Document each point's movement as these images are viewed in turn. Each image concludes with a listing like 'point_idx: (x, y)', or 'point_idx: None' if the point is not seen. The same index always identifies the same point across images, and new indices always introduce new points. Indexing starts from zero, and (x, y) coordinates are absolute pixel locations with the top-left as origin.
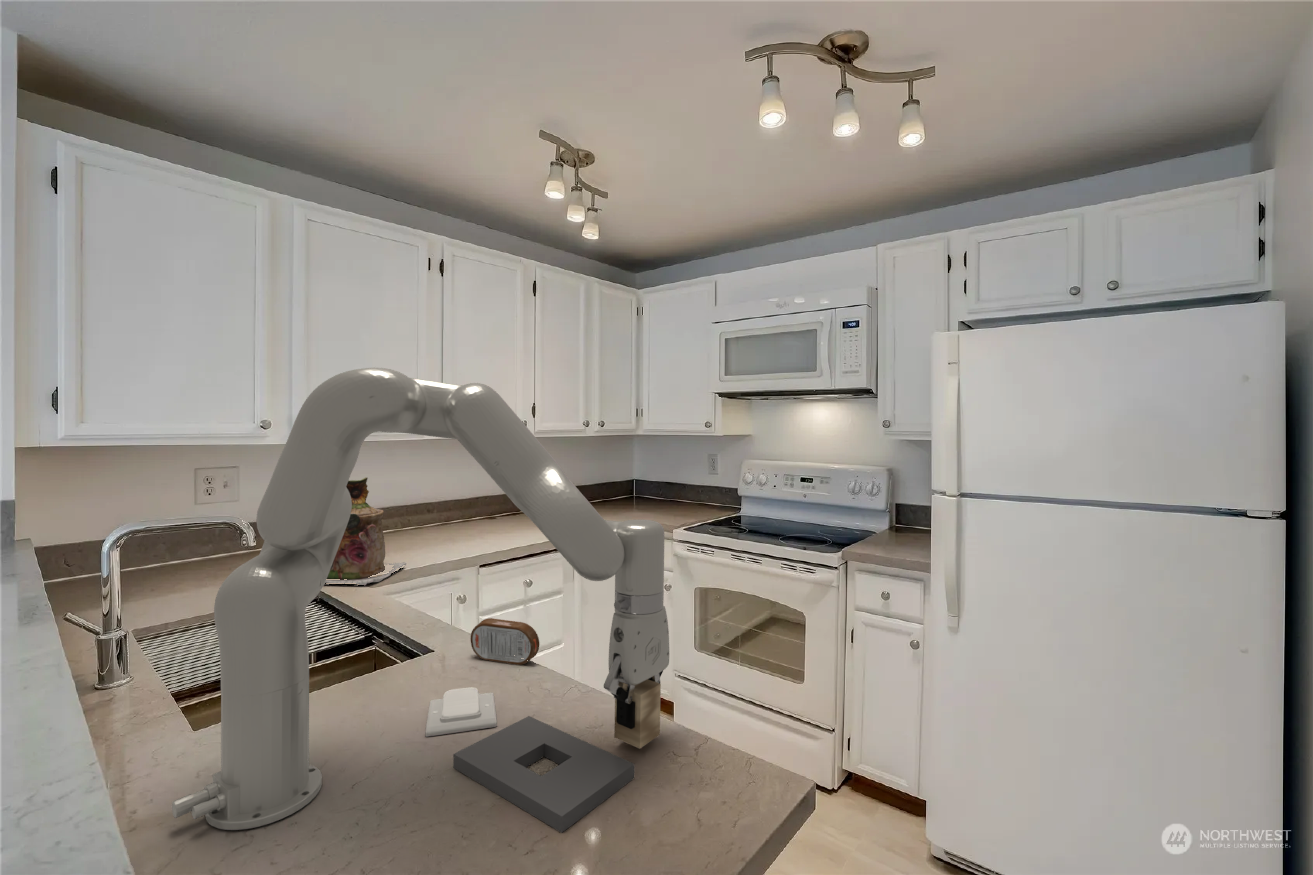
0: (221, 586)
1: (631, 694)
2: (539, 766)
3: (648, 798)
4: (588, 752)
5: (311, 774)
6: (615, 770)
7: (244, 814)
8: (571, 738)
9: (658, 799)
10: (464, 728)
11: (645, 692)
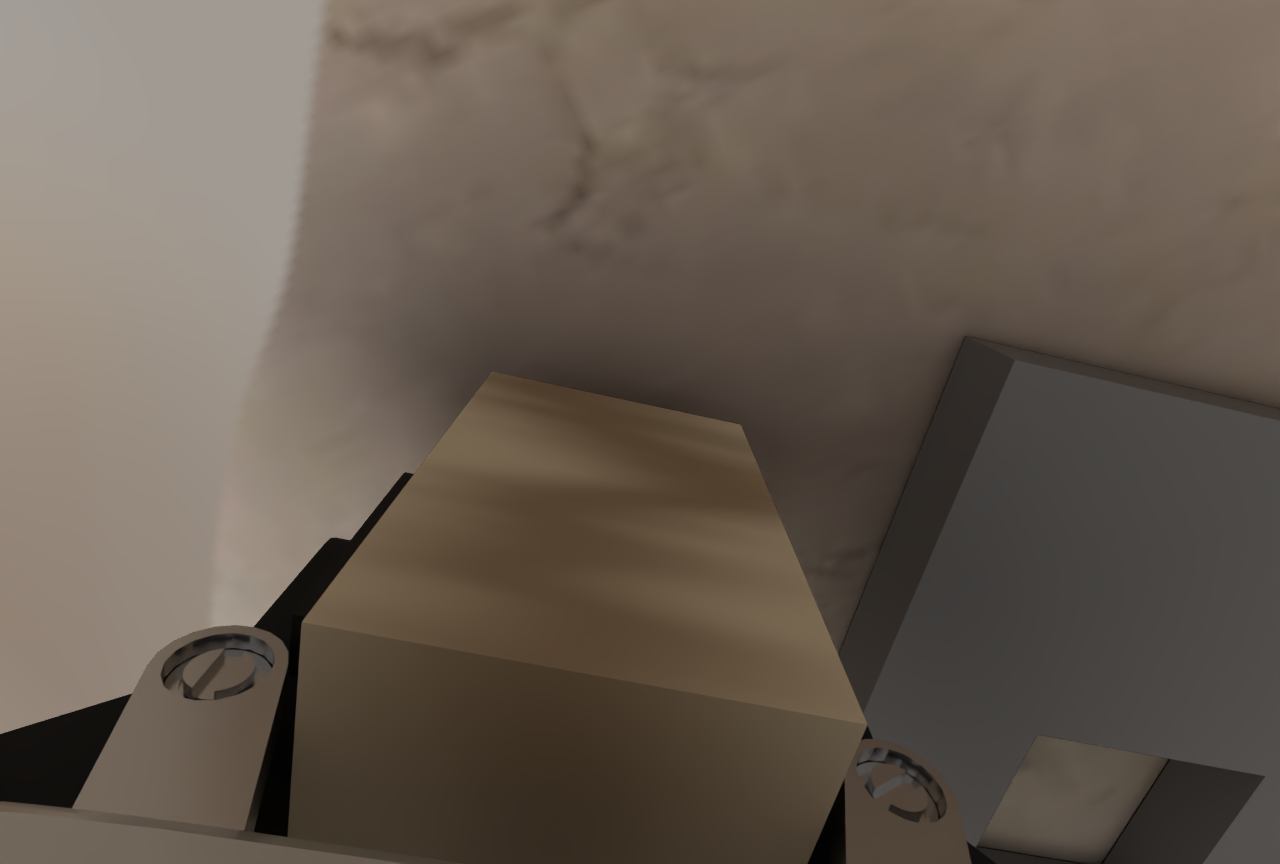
0: None
1: (900, 835)
2: (999, 813)
3: (1161, 149)
4: (960, 680)
5: None
6: (1130, 444)
7: None
8: None
9: (1160, 74)
10: None
11: (745, 702)
